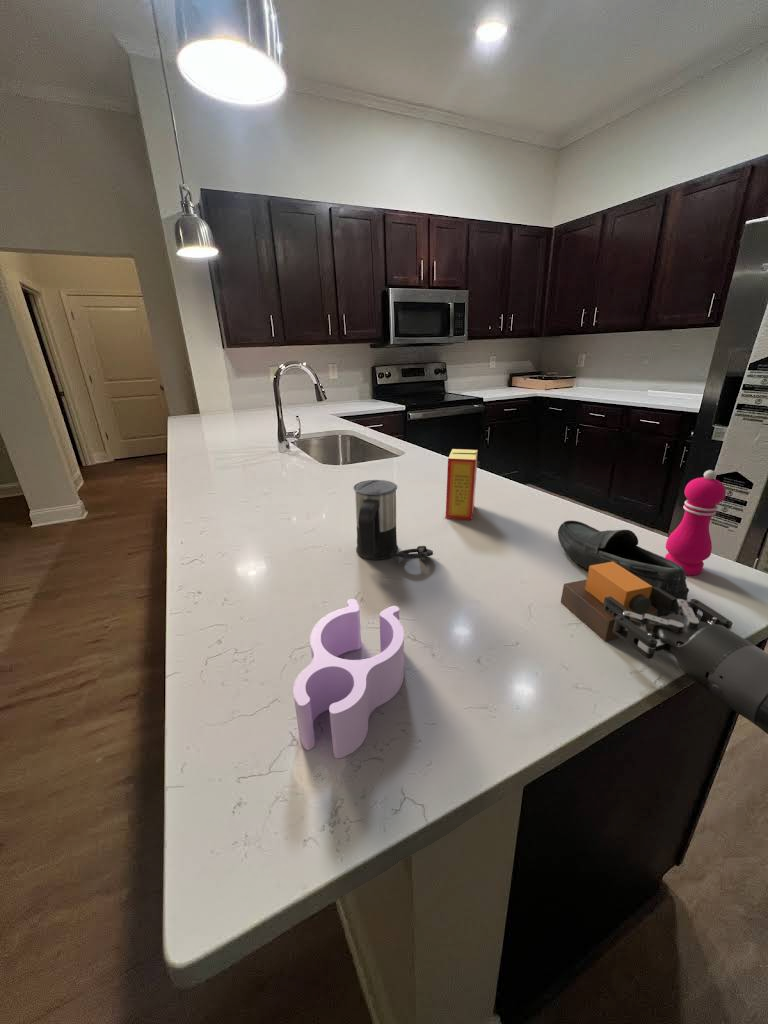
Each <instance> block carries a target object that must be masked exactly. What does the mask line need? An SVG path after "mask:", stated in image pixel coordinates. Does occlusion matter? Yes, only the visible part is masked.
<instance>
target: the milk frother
mask: <svg viewBox="0 0 768 1024" xmlns="http://www.w3.org/2000/svg"><path fill="white" fill-rule="evenodd" d="M353 490H354V495H355V521H356V548H355V550H356V553H357V554H358V555H359V556H360V557H362V558H365V559H370V560H384V559H389V558H391V557H396V558H401V559H427V558H428V557H431V556H433V555H434V551H433V550H432V549H429V548H427V546H426V545H418V546H417V547H416V548H408V549H403V550H401V551H399V546H398V540H397V538H398V537H397V536H398V535H397V490H398V485H397V484H396V483H395V482H393V481H390V480H387V479H386V480H385V479H369V480H363V481H359V482H357V483H355V484H354V485H353Z"/></svg>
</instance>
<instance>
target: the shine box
mask: <svg viewBox="0 0 768 1024" xmlns="http://www.w3.org/2000/svg"><path fill="white" fill-rule="evenodd" d="M586 582H587V579H581V580H577V581H572V582H567V583H563V587H562V592H561V597H560V603H561V604H562V605H563V606H564V607H565V608H566V609H567V610H569V611H570V612H571V613H572V614H573V615H574V616H576V617H577V618H578V619H579V620H580V621H581V622H582V623H584V624H585V625H586V626H587V627H588V628H589V629H590V630H592V631H593V632H594V633H595V634H596V635H597V636H598V637H599V638H600V639H602V640H603V641H604V642H607V641H612V640H615V639H621V638H620V637H618V636H617V635H616V634H614V633H613V628H614V624H615V619H614V618H613V617H611V616H610V615H609V614H608V613H606V612H605V611H604V609H603V603H602V602H601V601H599V600H598V599H597V598H595V597H594V596H593V595H592V594H590V593H589V592H588V591H586V590H585V587H586ZM657 612H658V610H657V609H656V608H654V607H653V606H650V608H649V609H648V610H647V611H646V612H645V613H643V614H640V615H644V614H650V615H654V616H656V615H657ZM631 622H632V623H633V624H635V625H636V626H641V623H640V622H637V621H634V620H632V621H631ZM652 628H653V623H649V624H648V625H647V629H646V630H647V632H649V631H652ZM624 631H625V632H627V633H628V631H627V630H624Z"/></svg>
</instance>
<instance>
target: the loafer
mask: <svg viewBox="0 0 768 1024" xmlns="http://www.w3.org/2000/svg"><path fill="white" fill-rule="evenodd" d="M557 538H558V541H559V543H560V546H561V547H562V549H563V550H564V552H565V554H566V555H568V557H569V559H571V560H572V561H573V562H575V563H576V564H577V565H580V567H582V568H584V569H585V570H587V571H589V567H590V566H591V565H596V564H602V563H607V562H615V563H616V564H618V565H619V566H621V567H623V568H624V569H626V570H627V571H629V572H630V573H632V574H634V575H635V576H637V577H638V578H640V579H641V580H643V581H645V582H646V583H648V584H649V585H651V586H652V588H653V587H658V588H660V589H662V590H664V591H666V592H667V593H669V594H670V595H672V596H673V597H675V598H677V599H683V600H685V601H686V602H688V595H689V592H690V589H689V588H688V586H687V575H685V570H684V569H683V568H682V567H681V566H680V565H678V564H676V563H675V562H673V561H671V560H669V559H667V558H665V556H662V555H659V554H657V553H654V552H652V551H650V550H647V549H646V548H643V547H641V546H638V545H639V539H638V536H637V535H636V533H635V532H633V531H632V530H630V529H616V530H615V529H614V530H611V529H609V530H599V529H597V528H595V527H592V526H590V525H588V524H587V523H584V522H582V521H578V520H565V521H563V523H561V524H560V526H559V528H558V530H557ZM649 599H650V598H649ZM650 601H651V606H653V607H654V608H656V609H657V610H658V612H657V615H656V616H657V617H660V616H668V615H669V614H673V611H672V612H668V611H667V610H665V609H664V608H662V607H661V606H659V605H658V604H656V603H655V602H653V601H652V600H650Z"/></svg>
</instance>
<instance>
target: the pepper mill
mask: <svg viewBox="0 0 768 1024" xmlns="http://www.w3.org/2000/svg"><path fill="white" fill-rule="evenodd" d="M716 477H717V473H716V471H715V470H712V469H708V470H706V471H704V473H703V476H701V477H696V478H693V479H691V480H690V481H689V482H688V483H687V484H686V486H685V488H684V496H685V498H686V500H685V501H684V505H682V506H683V507H682V508H683V510H684V514H683V517H682V520H681V521H680V523H679V524H678V526H677V527H676V528H675V529H674V530H673V531H672V532H671V533H670V535H669V536H668V537H667V539H666V541H665V549H666V551H667V553H666V554H665V556H664V558H667V559H669V560H671V561H673V562H675V563H676V564H678V565H680V566H681V567H682V568H683V569H684V570H685V575H686V576H698V575H700V574H701V573H702V572H703V569H704V566H705V563H704V561H705V560H707V559H709V558H710V556H711V555H712V549H713V542H712V539H711V534H710V523H711V519H712V517H713V516H715V515H716V514H717V510H718V508H719V507H718V504H720V503H722V502H723V501H724V500H725V498H726V495H727V490H726V486H725V485H724V484H723V482H721V481H720V480H718V479H716Z"/></svg>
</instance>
